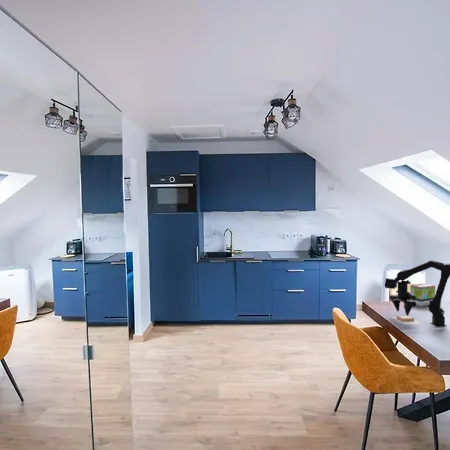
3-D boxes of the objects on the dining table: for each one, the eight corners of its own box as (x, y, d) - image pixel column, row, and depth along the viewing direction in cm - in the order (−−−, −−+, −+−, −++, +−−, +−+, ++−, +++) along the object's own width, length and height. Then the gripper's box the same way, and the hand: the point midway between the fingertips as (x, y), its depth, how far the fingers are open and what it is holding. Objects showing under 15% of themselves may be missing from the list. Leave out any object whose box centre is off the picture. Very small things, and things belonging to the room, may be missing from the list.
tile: (414, 318, 205) (407, 315, 211) (402, 318, 204) (396, 316, 210) (414, 320, 205) (407, 317, 211) (402, 321, 204) (396, 318, 210)
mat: (423, 324, 199) (423, 323, 199) (405, 325, 198) (405, 324, 198) (407, 317, 213) (407, 316, 213) (391, 318, 212) (391, 317, 212)
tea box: (421, 306, 237) (421, 287, 237) (409, 303, 247) (409, 284, 246) (435, 304, 243) (435, 285, 242) (423, 300, 252) (423, 282, 252)
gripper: (424, 292, 201) (424, 317, 201) (404, 286, 219) (404, 308, 220) (407, 293, 199) (407, 318, 200) (389, 287, 218) (389, 309, 218)
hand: (402, 313), depth 209 cm, fingers open, 9 cm apart
